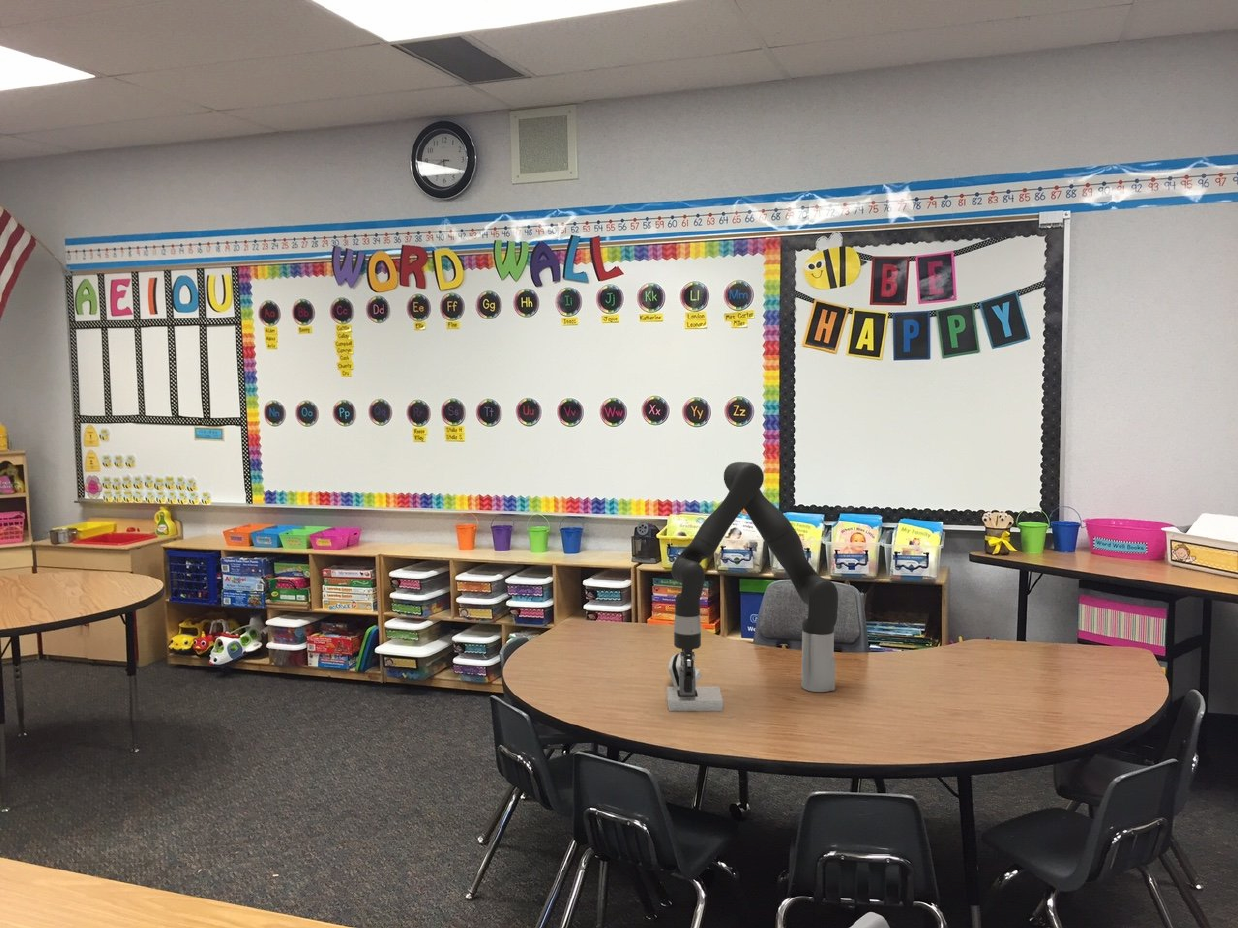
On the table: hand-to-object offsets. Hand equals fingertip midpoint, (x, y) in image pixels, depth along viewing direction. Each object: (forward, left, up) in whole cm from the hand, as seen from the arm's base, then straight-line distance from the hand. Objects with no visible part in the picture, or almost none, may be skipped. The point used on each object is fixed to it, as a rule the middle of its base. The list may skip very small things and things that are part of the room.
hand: (687, 688), depth 267 cm
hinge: (0, -19, -5) cm, 20 cm away
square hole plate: (-2, 0, -4) cm, 5 cm away
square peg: (0, 0, -4) cm, 4 cm away
